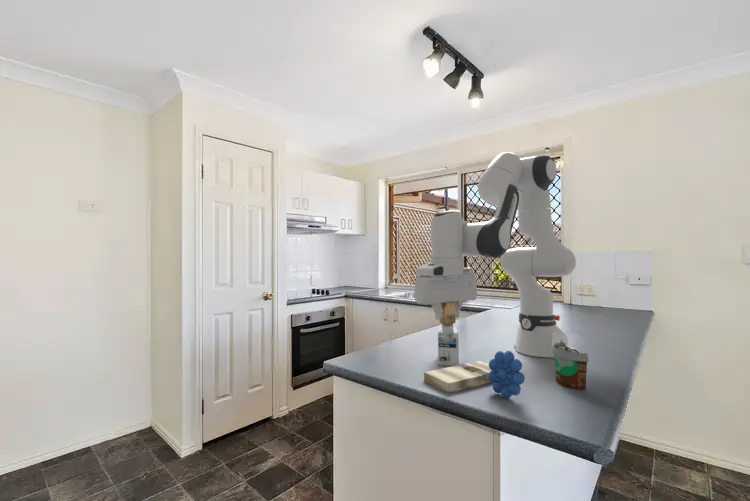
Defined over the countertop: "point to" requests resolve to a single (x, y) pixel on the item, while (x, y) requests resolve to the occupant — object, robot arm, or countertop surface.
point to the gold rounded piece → (448, 320)
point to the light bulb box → (448, 349)
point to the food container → (570, 366)
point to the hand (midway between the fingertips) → (447, 318)
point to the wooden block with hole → (459, 376)
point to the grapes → (506, 374)
